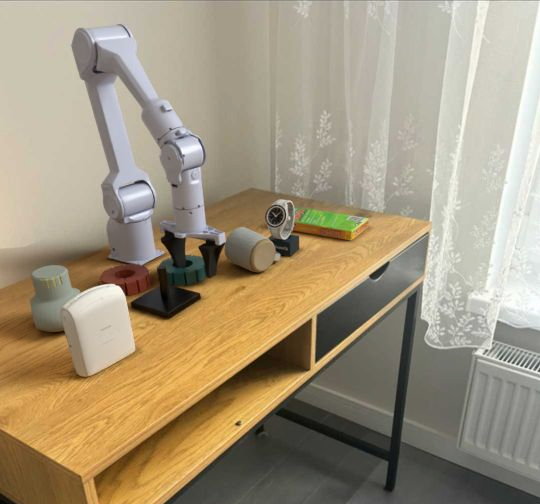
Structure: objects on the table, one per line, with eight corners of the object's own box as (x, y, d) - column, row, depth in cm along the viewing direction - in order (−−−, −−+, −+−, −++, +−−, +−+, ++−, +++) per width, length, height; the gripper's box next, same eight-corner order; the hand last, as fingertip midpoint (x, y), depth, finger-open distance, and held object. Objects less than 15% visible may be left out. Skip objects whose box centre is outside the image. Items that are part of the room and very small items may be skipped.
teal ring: (151, 279, 121) (149, 267, 120) (181, 263, 127) (179, 251, 126) (187, 289, 117) (185, 277, 115) (216, 271, 123) (215, 259, 122)
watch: (263, 256, 129) (260, 205, 123) (280, 242, 135) (278, 194, 129) (286, 260, 127) (285, 208, 121) (303, 246, 133) (302, 196, 127)
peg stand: (131, 307, 111) (124, 271, 107) (164, 288, 117) (159, 253, 113) (168, 319, 107) (163, 281, 103) (201, 298, 113) (197, 262, 109)
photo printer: (86, 381, 91) (69, 307, 84) (70, 371, 93) (51, 299, 87) (140, 352, 97) (128, 281, 91) (123, 343, 100) (110, 274, 93)
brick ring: (92, 290, 118) (90, 277, 117) (126, 272, 125) (124, 260, 123) (127, 300, 114) (124, 287, 112) (160, 281, 120) (158, 269, 119)
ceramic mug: (252, 279, 119) (250, 241, 115) (225, 268, 124) (222, 231, 120) (290, 263, 125) (289, 227, 122) (262, 253, 131) (261, 218, 127)
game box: (350, 244, 134) (271, 226, 143) (368, 230, 142) (291, 214, 150) (351, 231, 133) (271, 214, 141) (369, 218, 140) (291, 202, 149)
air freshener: (35, 315, 110) (21, 264, 105) (82, 306, 112) (70, 255, 107) (39, 343, 101) (24, 289, 96) (90, 332, 103) (78, 279, 98)
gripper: (144, 205, 113) (154, 272, 120) (206, 217, 106) (213, 287, 113) (169, 195, 118) (178, 260, 125) (229, 205, 111) (235, 273, 118)
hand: (196, 272), depth 120 cm, fingers open, 7 cm apart
